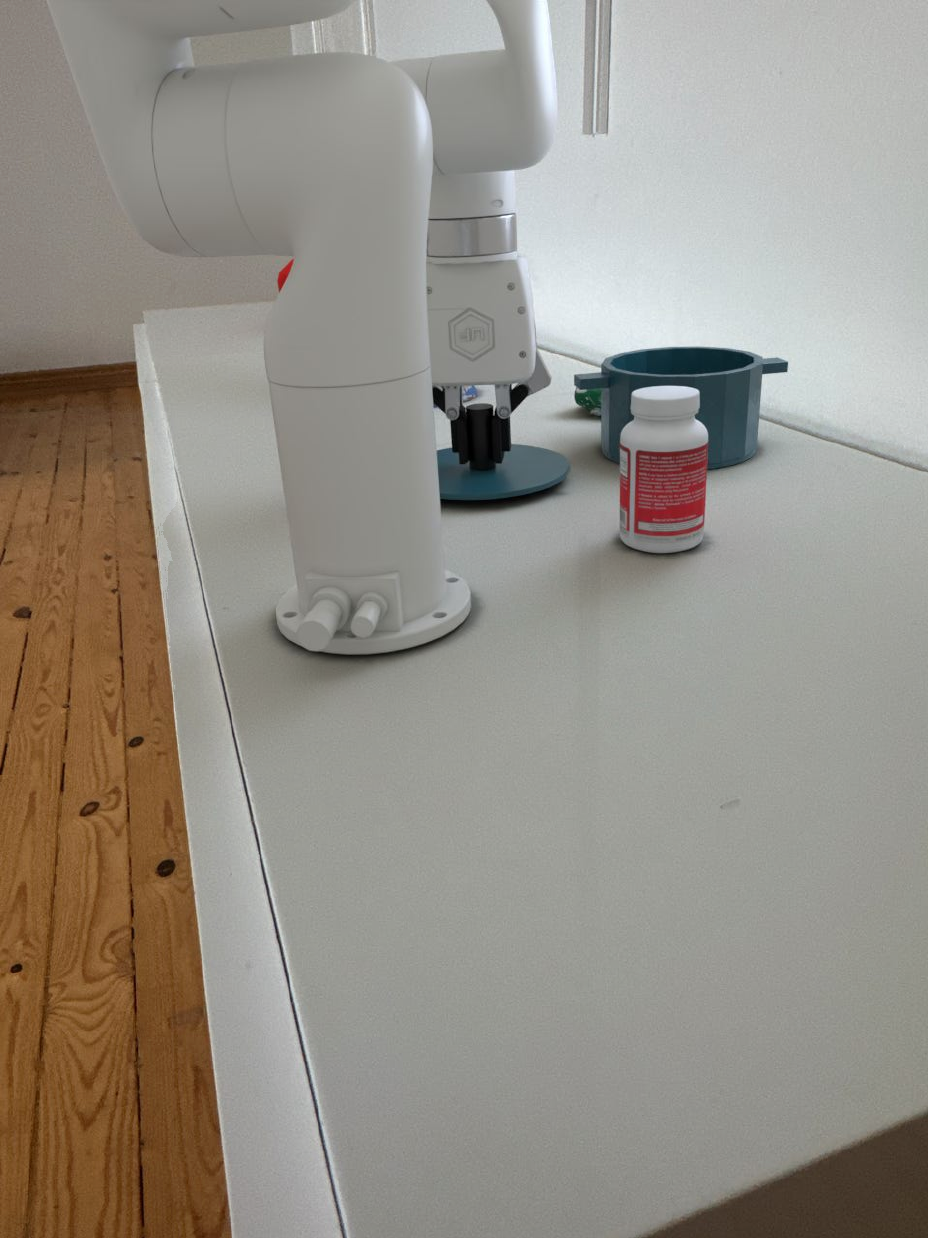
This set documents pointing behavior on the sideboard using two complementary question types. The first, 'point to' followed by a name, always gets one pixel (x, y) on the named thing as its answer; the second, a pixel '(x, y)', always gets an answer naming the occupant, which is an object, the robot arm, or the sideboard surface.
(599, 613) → the sideboard surface
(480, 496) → the pot lid
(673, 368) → the teal cooking pot
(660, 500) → the pill bottle
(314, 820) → the sideboard surface
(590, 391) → the gaming controller
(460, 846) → the sideboard surface
